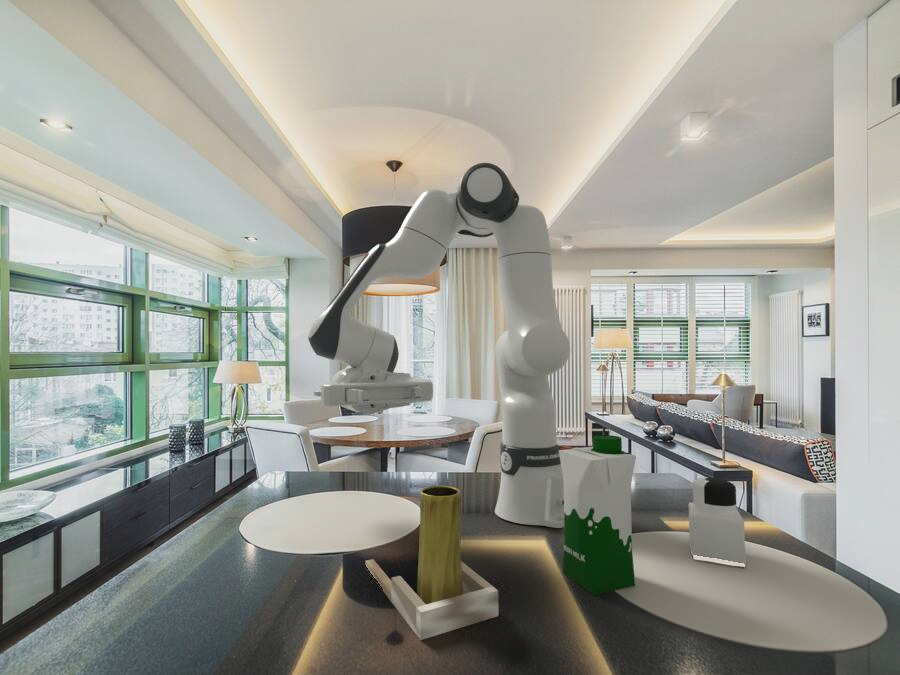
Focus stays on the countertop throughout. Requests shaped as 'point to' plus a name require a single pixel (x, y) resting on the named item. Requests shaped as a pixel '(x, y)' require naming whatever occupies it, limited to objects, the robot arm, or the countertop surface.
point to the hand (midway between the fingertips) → (392, 394)
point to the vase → (439, 544)
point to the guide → (440, 603)
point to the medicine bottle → (716, 521)
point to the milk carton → (598, 515)
